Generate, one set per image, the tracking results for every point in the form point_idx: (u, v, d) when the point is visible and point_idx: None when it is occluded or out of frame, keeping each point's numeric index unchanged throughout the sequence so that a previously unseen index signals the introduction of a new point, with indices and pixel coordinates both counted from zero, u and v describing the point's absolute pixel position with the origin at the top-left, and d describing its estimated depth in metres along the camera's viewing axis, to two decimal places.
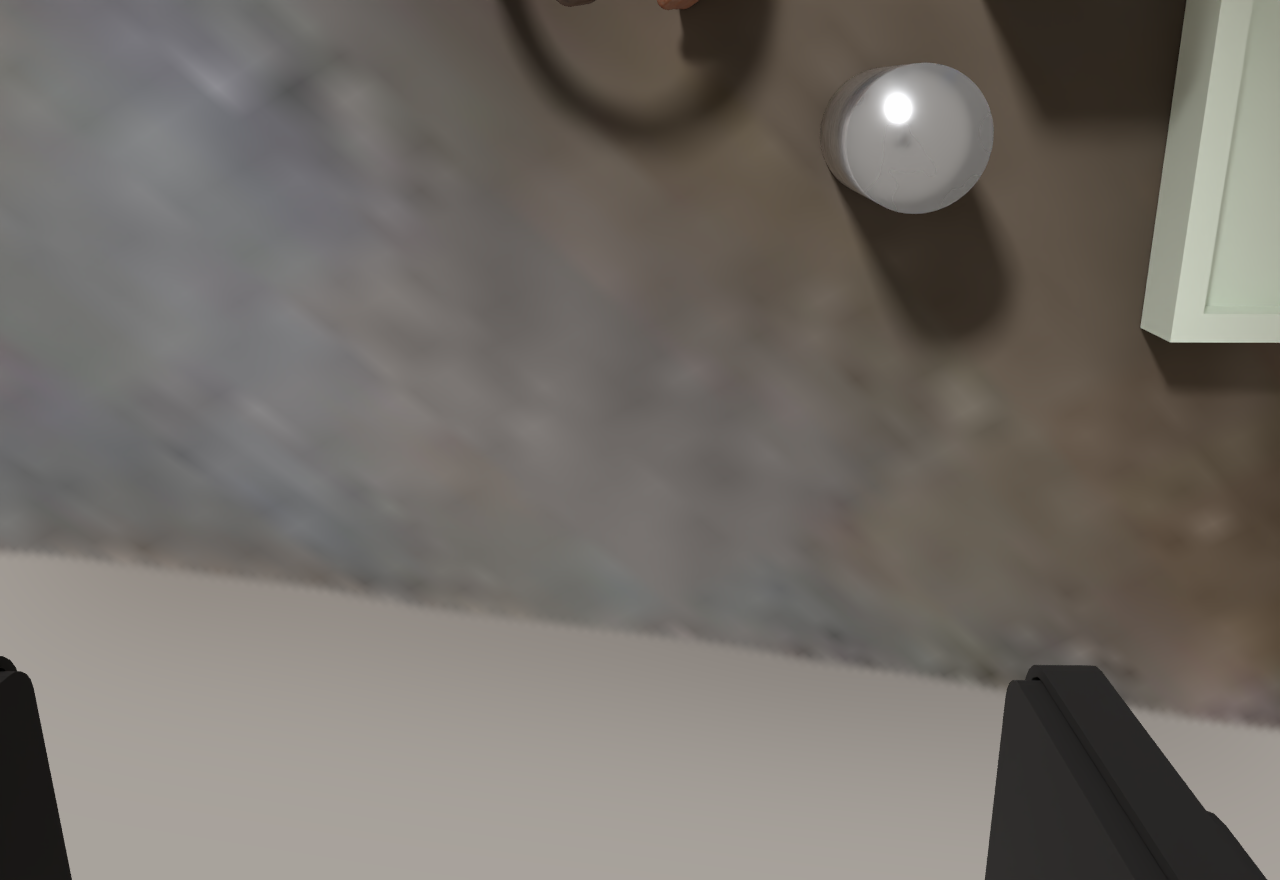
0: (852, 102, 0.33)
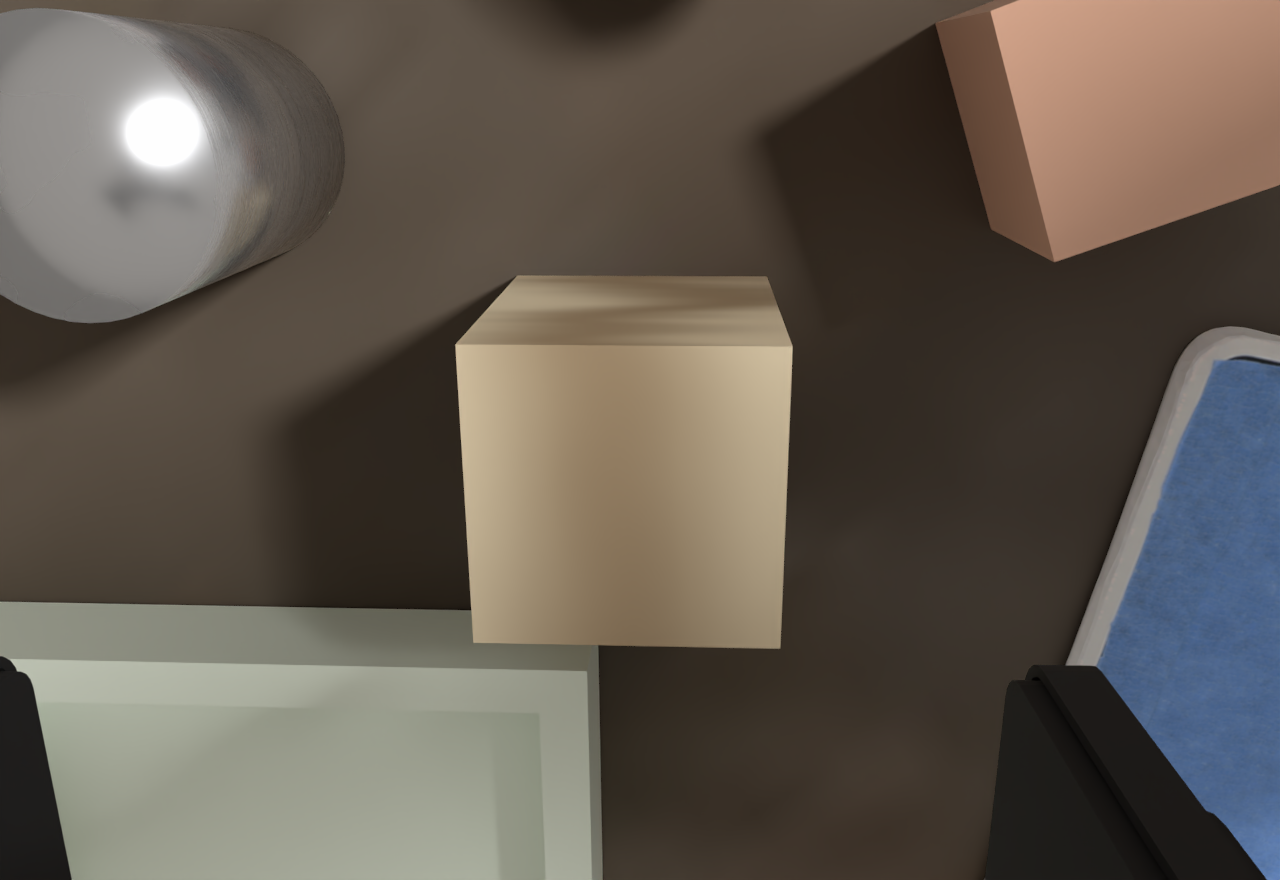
0: (152, 32, 0.16)
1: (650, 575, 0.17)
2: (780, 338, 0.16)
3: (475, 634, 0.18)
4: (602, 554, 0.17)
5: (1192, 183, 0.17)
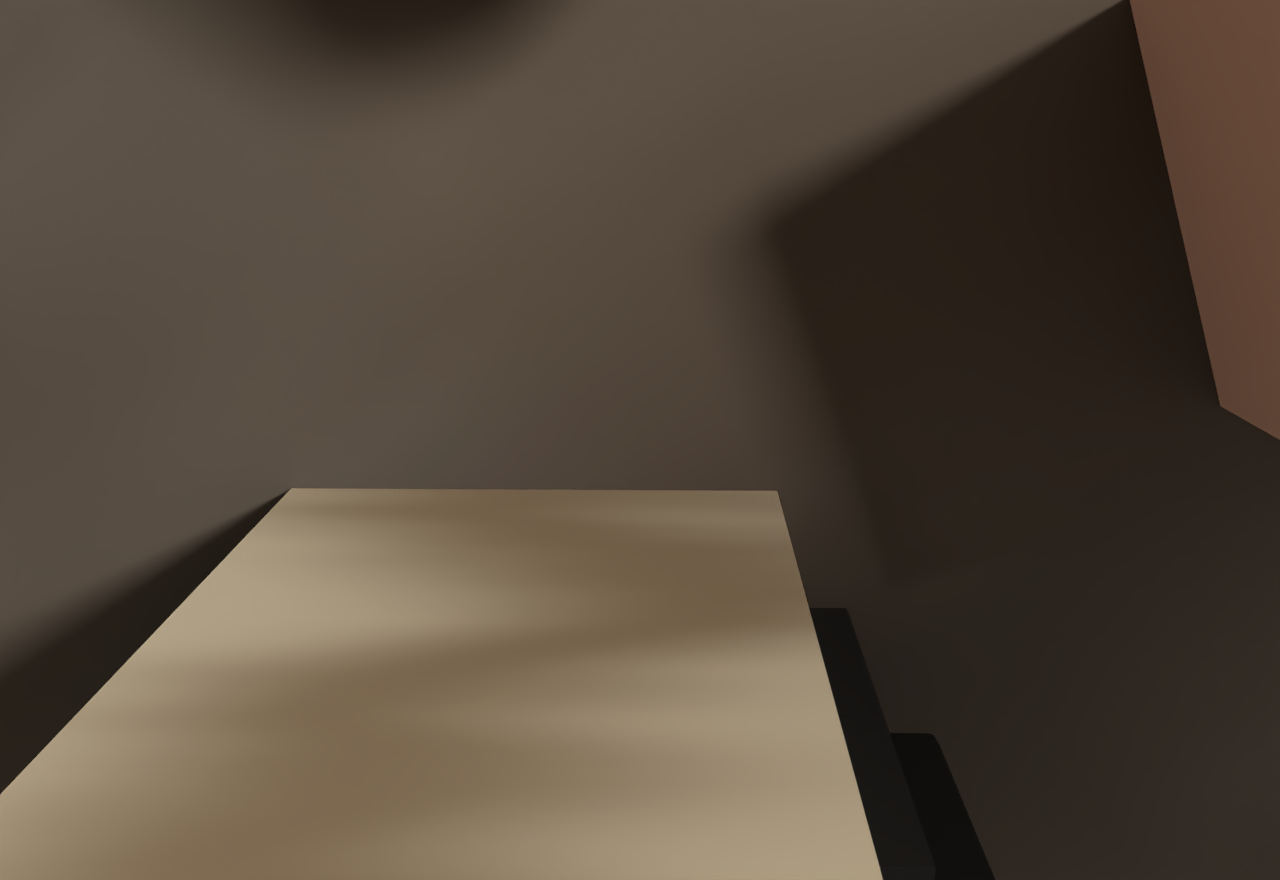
0: None
1: None
2: (849, 848, 0.06)
3: None
4: None
5: None
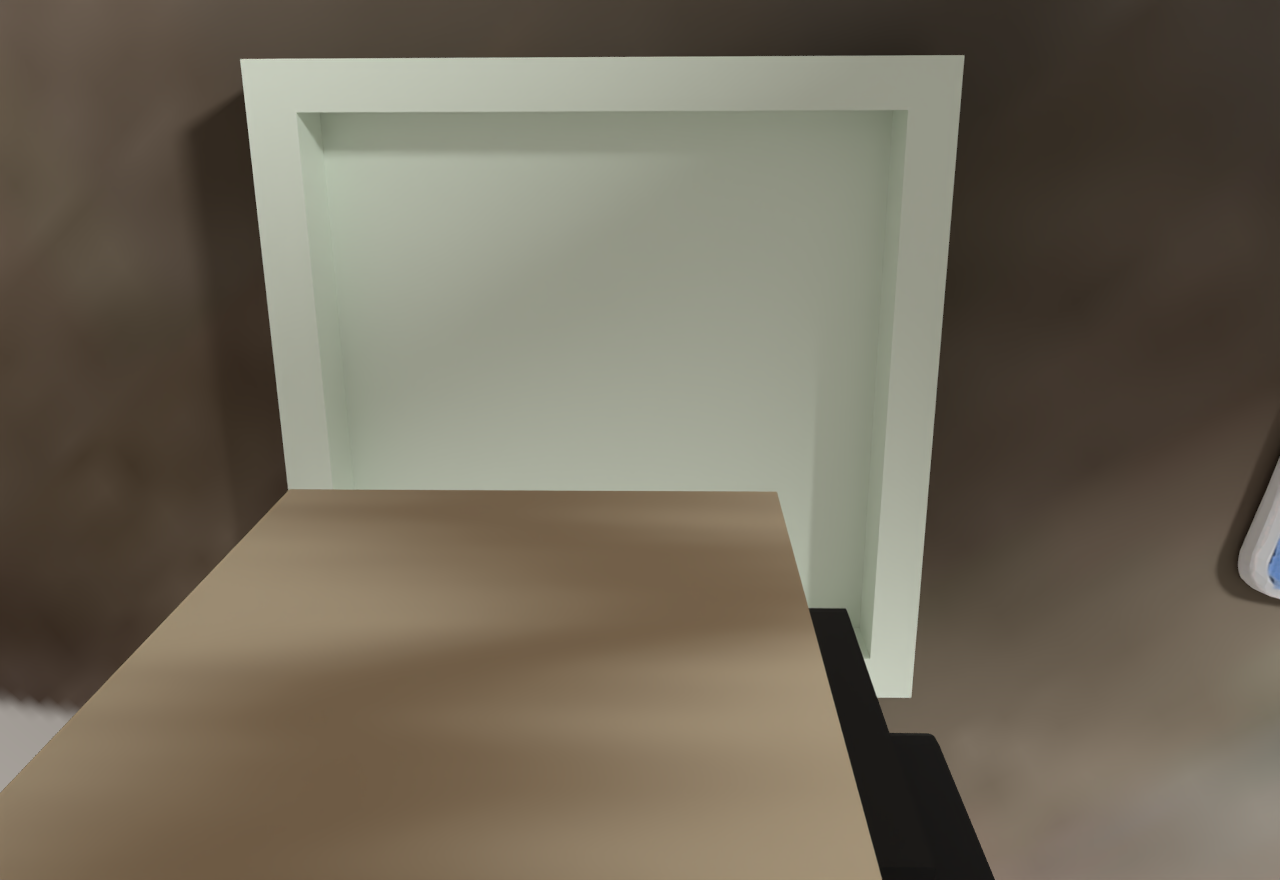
0: None
1: None
2: (848, 850, 0.06)
3: None
4: None
5: None
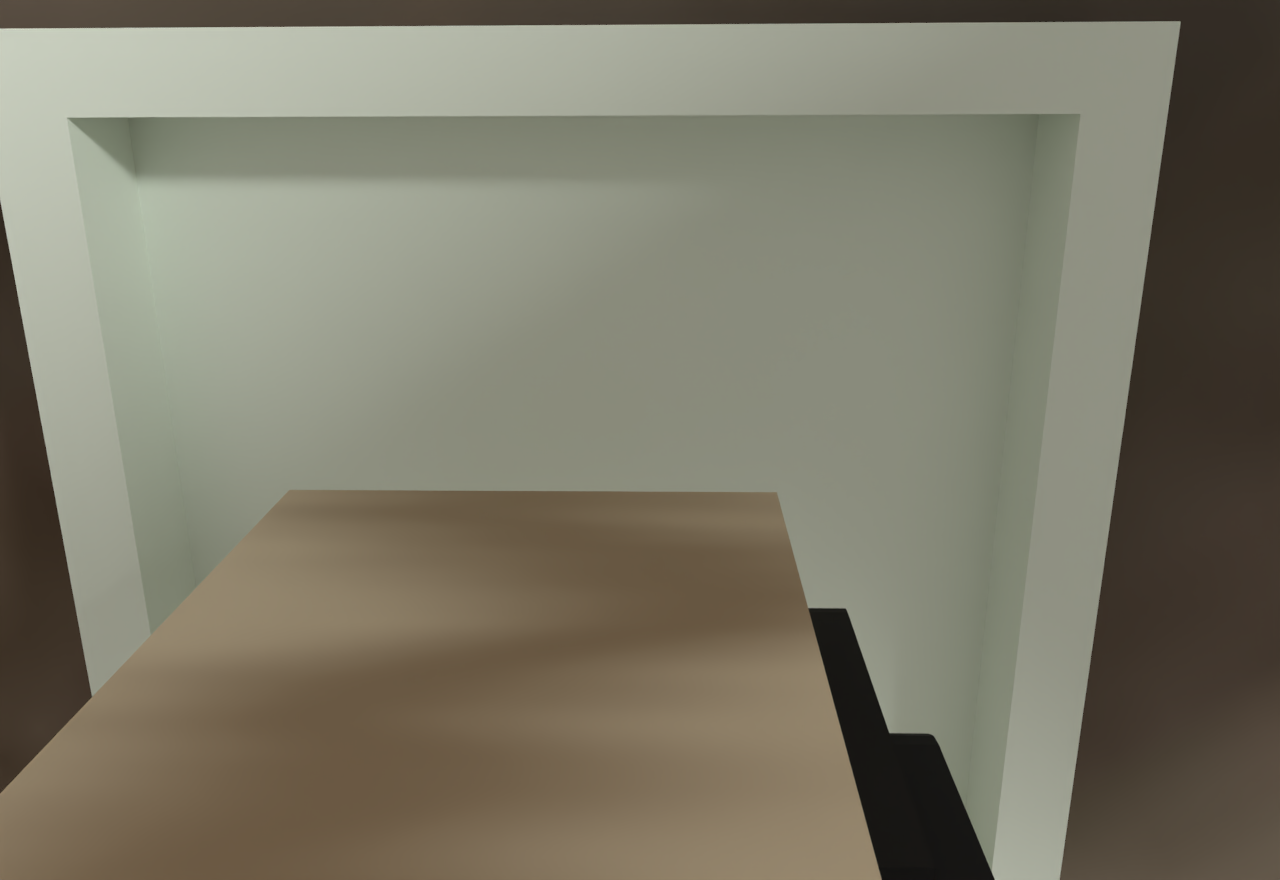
0: None
1: None
2: (848, 850, 0.06)
3: None
4: None
5: None
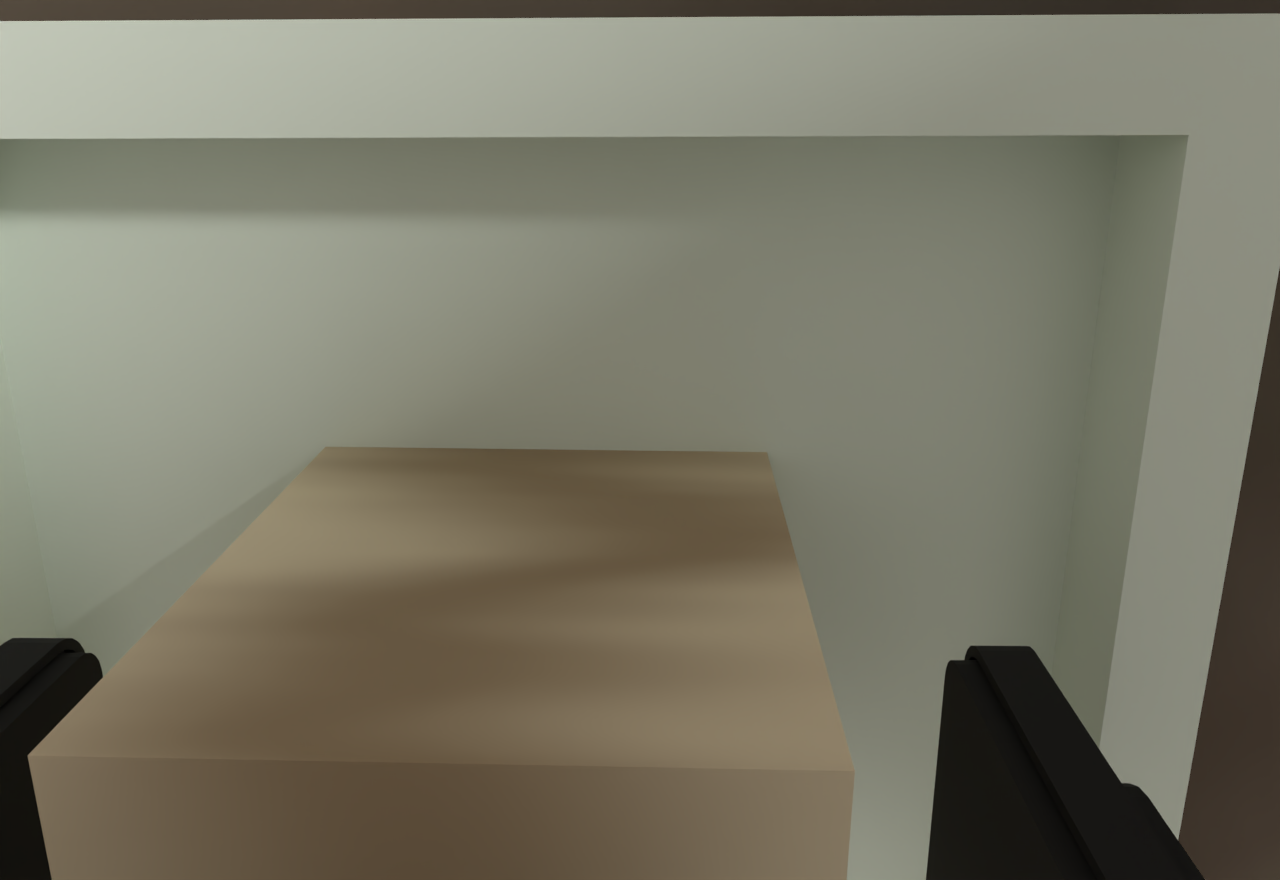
0: None
1: None
2: (820, 720, 0.07)
3: None
4: None
5: None
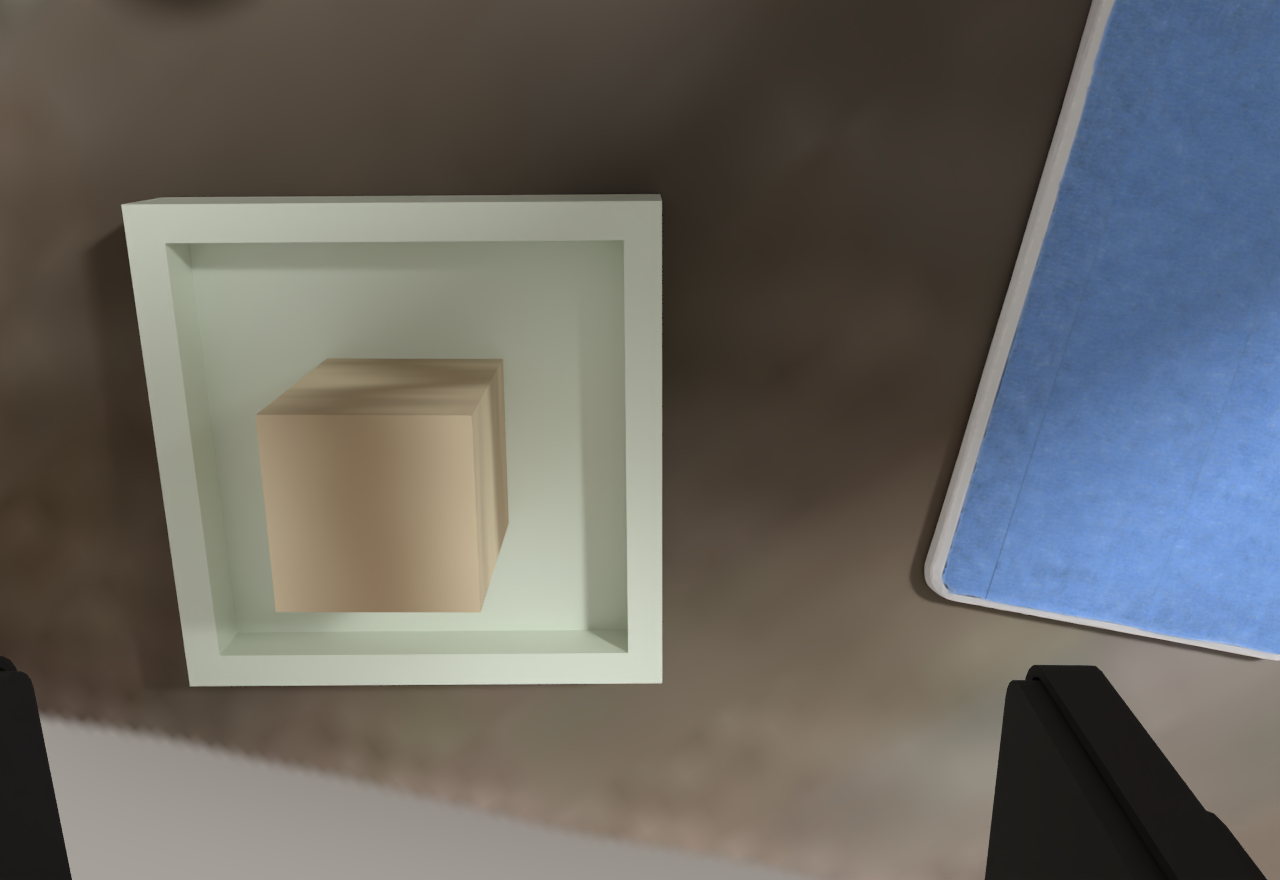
0: None
1: (391, 564, 0.26)
2: (469, 409, 0.25)
3: (276, 606, 0.26)
4: (358, 550, 0.26)
5: None
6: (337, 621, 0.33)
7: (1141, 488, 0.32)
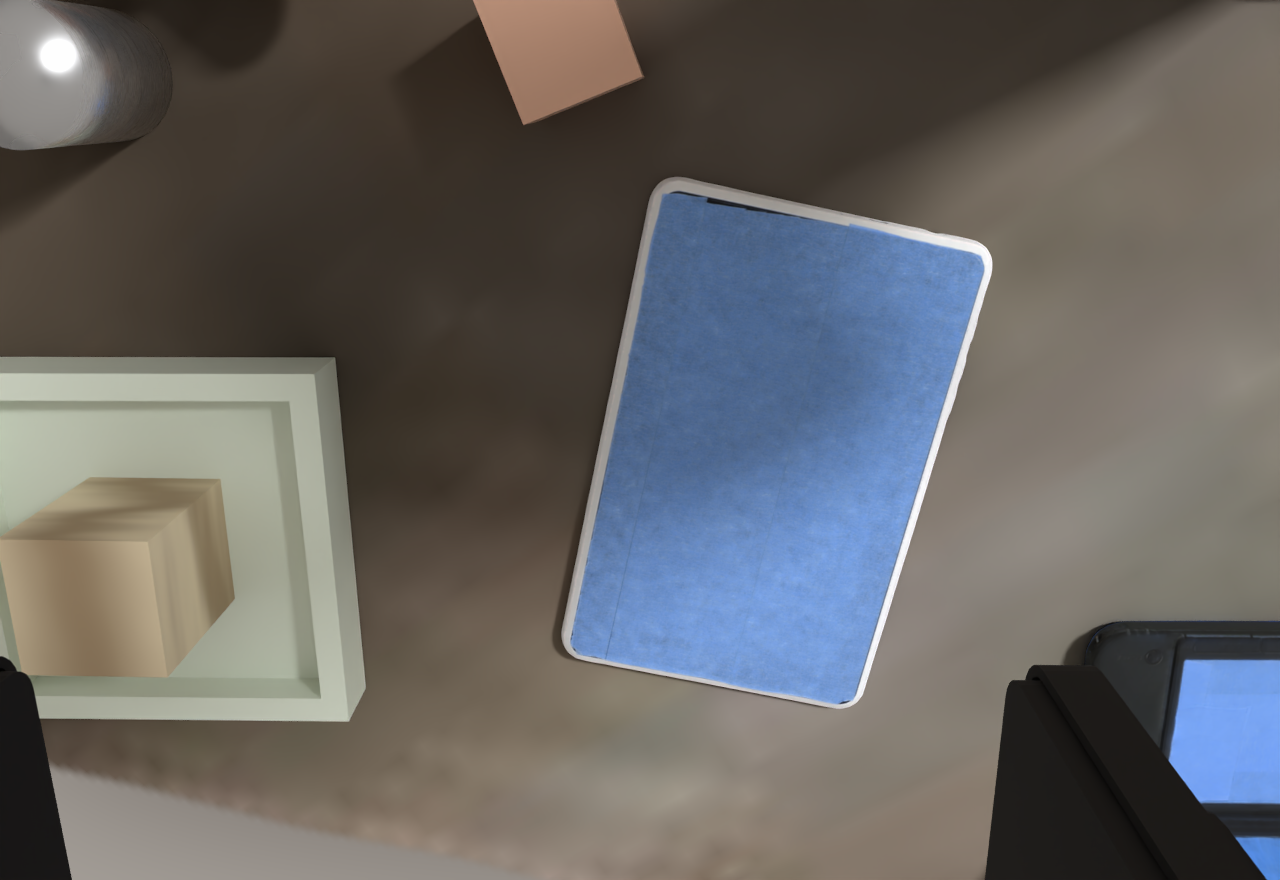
0: (52, 5, 0.32)
1: (101, 643, 0.36)
2: (151, 535, 0.36)
3: (22, 671, 0.37)
4: (76, 633, 0.36)
5: (584, 82, 0.33)
6: None
7: (716, 578, 0.42)
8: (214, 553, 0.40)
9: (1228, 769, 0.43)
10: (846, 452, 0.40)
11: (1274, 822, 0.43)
